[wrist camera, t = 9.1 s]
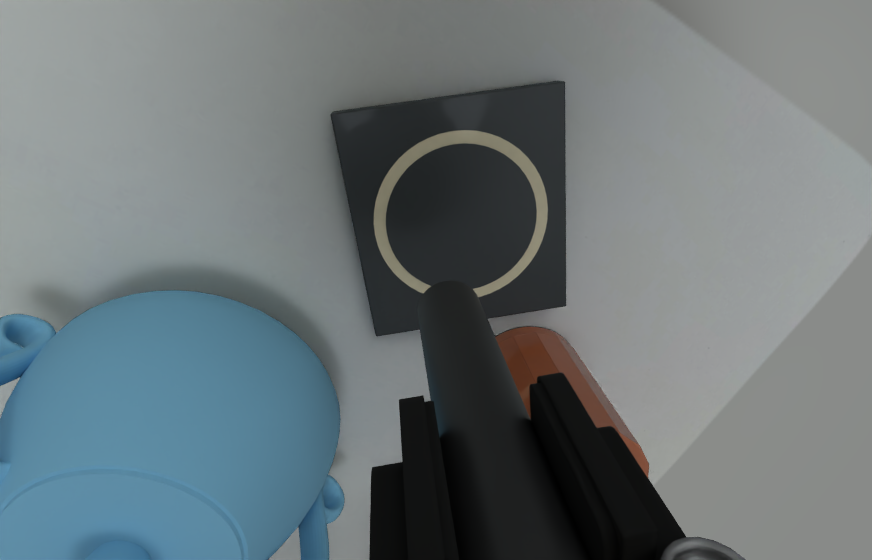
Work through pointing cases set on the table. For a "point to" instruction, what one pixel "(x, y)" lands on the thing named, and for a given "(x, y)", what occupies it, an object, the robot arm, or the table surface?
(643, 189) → the table surface
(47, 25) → the table surface
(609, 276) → the table surface
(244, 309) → the teapot
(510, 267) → the slate
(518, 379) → the pen cup
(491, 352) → the marker
